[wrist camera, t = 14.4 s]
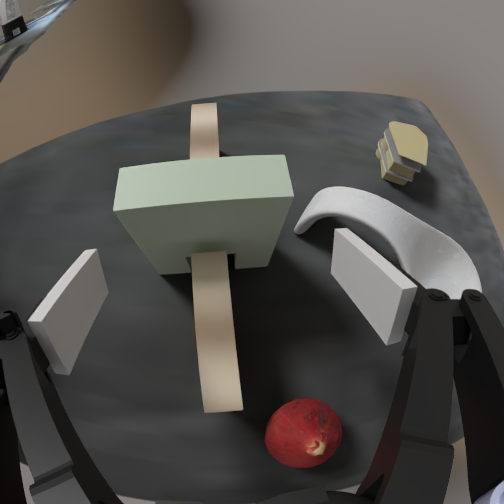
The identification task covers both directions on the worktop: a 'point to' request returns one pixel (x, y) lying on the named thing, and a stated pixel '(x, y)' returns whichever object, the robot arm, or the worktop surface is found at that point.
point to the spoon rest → (399, 238)
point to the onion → (303, 433)
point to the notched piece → (205, 209)
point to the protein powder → (11, 19)
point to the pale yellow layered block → (402, 152)
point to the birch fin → (213, 293)
